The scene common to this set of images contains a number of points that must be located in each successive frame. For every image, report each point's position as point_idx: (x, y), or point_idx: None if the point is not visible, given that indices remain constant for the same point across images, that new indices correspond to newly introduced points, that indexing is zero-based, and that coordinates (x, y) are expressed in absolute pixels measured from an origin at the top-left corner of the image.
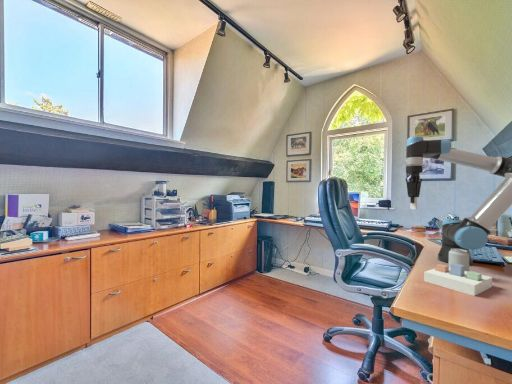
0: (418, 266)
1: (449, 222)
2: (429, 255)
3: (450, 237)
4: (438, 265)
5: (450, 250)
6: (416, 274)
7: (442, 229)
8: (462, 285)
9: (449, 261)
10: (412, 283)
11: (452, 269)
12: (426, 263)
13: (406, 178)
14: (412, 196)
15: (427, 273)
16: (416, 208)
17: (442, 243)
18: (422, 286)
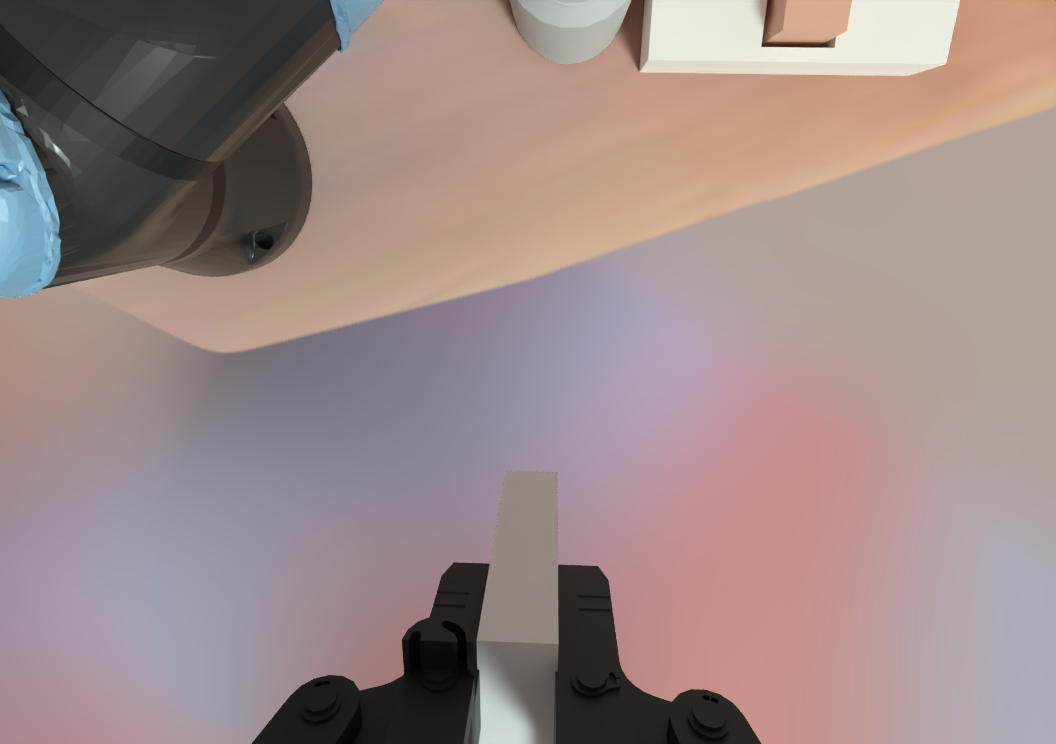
0: (596, 247)
1: (33, 175)
2: (220, 340)
3: (263, 120)
4: (843, 10)
5: (589, 6)
6: (801, 167)
7: (85, 269)
8: None
9: (616, 24)
10: (1018, 92)
11: None
12: (467, 253)
13: None
14: (645, 702)
15: (946, 41)
16: (518, 478)
17: (193, 246)
18: (1031, 30)
